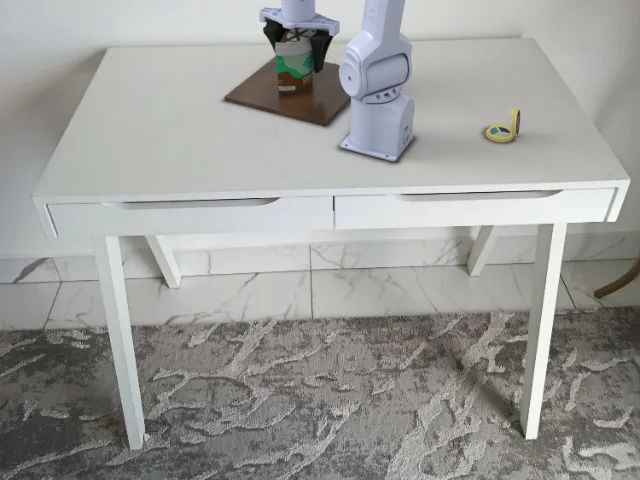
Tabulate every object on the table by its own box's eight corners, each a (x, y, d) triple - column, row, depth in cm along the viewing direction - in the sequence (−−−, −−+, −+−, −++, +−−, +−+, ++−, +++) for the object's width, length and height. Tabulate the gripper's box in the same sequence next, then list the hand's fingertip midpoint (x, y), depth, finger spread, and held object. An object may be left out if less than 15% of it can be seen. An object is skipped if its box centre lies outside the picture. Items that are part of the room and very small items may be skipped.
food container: (310, 102, 114) (310, 47, 107) (276, 98, 115) (274, 43, 108) (325, 70, 123) (326, 18, 117) (293, 66, 124) (292, 15, 118)
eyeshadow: (488, 125, 109) (493, 99, 106) (519, 131, 107) (525, 104, 104) (483, 139, 106) (488, 112, 103) (514, 145, 104) (520, 118, 101)
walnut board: (373, 76, 123) (373, 72, 122) (325, 126, 109) (325, 122, 109) (280, 55, 130) (280, 51, 129) (224, 100, 116) (224, 96, 116)
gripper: (247, -10, 108) (253, 67, 117) (326, 5, 103) (326, 84, 112) (269, -23, 113) (273, 52, 121) (345, -10, 107) (344, 67, 116)
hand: (300, 66), depth 117 cm, fingers closed on food container, 7 cm apart
